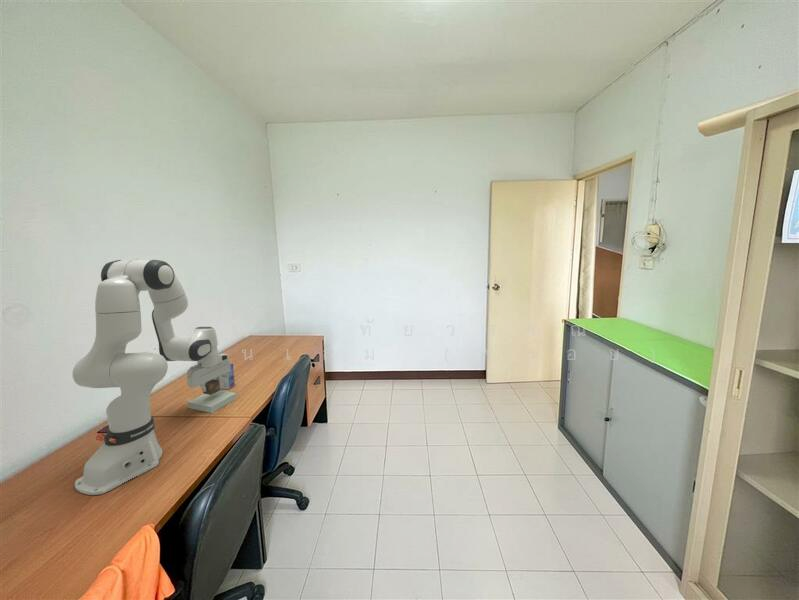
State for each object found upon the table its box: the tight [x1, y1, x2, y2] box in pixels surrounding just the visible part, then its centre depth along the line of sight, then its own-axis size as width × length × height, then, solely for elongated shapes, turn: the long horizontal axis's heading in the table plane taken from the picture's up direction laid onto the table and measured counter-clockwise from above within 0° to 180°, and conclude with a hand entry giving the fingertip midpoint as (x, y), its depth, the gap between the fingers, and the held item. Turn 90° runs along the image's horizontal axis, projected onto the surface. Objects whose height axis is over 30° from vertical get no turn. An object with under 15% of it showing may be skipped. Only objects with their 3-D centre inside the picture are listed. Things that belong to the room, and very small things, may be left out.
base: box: [187, 389, 237, 414], centre depth 149 cm, size 14×14×3 cm
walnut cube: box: [202, 379, 221, 395], centre depth 148 cm, size 5×5×5 cm
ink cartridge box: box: [214, 363, 236, 390], centre depth 165 cm, size 10×6×14 cm, turn 89°
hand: (211, 388), depth 148 cm, fingers closed on walnut cube, 5 cm apart
